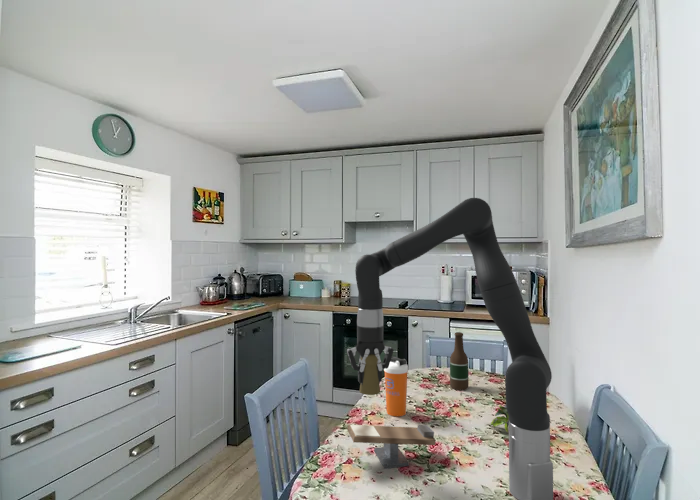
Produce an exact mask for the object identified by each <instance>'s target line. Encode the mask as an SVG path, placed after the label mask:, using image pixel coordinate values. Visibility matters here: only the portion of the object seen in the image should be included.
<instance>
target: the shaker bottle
mask: <svg viewBox="0 0 700 500" xmlns="http://www.w3.org/2000/svg"><path fill="white" fill-rule="evenodd" d="M407 363H408V362H407V359H405V358H399V357H396V356H392V357H391V361H390V364H389V367H388V368H387V369H386V368H385V369H383V371H384V382H385V383H384V385H385V387H384V388H385V402H386V407H385V409H386V414H387V415H388V416H391V417H396V418H397V417H403V416H405V415H406V413H407V397H408V395H407V393H408V392H407V391H408V390H407V389H408V373H409V366H408V364H407Z"/></svg>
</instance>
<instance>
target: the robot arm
mask: <svg viewBox="0 0 700 500" xmlns="http://www.w3.org/2000/svg"><path fill="white" fill-rule="evenodd" d="M492 214H493V213H492V209H491V207H490V205H489V203H488V202H486V201H485V200H484V199H482V198H480V197H479V198H478V197H469V198H467V199H464V200H462V201H461V202H460V203H459V204H457V205H456V206H454V207H453V208H451V209H450V210H448V211H447V212H446V213H445V214H443V215H442V216H441V215H440V217H438V218H436V219H435V220H433V221H431V222H430V223H428V224H426V225H425V226H424V225H423V226H422V227H421V228H418V229H417V230H414V231H412V232H410V233H408V234H406V235H404V236H402V237H400V238H398V239H395V240H394V241H393V242H390V243H388V244H387V245H386V246H385V248H382V249H380V250H378V251H375V252H373V253H371V254H364V255H362V256H360V257H359V258H358V259H357V260H356V264H355V270H354V272H355V281H356V286H357V291H358V295H357V298H358V299H357V316H356V337H357V338H356V343H355V346H354V347H351V348H347V349H346V353H347V356H348V360H349V362H350V366H351V368H352V369H353V370H354V371H357V381H358V382H359V384H360V383H361V385H363V379H364V372H363V371H364V367H365V364H366V363H365V359H366V357H367V356H368V355H369V354H375V356H376V357H377V358H378V362H377V369H378V379H379V385H380V384H381V382H382V380H383V371H384V369H385V368H386V369H387V368H388V367H389V364H390V361H391V357H393V353H394V352H395V351H394V348H392V347H391V346H386V345H385V342H384V311H383V308H384V307H383V301H384V299H383V291H382V289H381V288H380V287H381V286H380V277H382V276H383V275H385V274H387V273H388V272H390V271H392V270H394V269H395V268H397V267H402V266H403V265H405V264H407V263H410V262H412V261H415V260H416V259H418V258H420V257H421V256H424V255H425V254H427V253H428V252H430V251H431V250H432V249H434V248H436V247H437V246H439V245H441V244H442V243H445V242H446V241H448V240H451V239H453V238H455V237H459V236H461V235H463V237H464V238H465V240H466V244H467V245H468V247H469V250H470V253H471V255H472V259H473V264H474V270H475V275H476V279H477V283H478V287H479V288H478V289H479V291H480V294H481V297H482V299H483V302H484V306H485V307H486V309H487V312H488V314H489V316H490V318H491V319H492V320H493V322H494V323H495V325H496V326H497V328H498V329H499V331H500V332H501V334H502V335H503V337H504V339H505V342H506V345H507V347H508V351H509V355H510V358H511V363H510V364H509V365H508V367H507V369H506V372H505V376H504V379H505V381H504V382H505V384H504V385H505V387H504V388H505V404H506V405H505V406H506V408H507V411H508V414H509V426H508V477H509V478H508V481H509V486H508V488H509V489H508V490H509V492H510V494H511V495H512V496H513V497H514V498H516V499H517V500H554V463H553V461H551V445H550V444H551V419H550V418H551V417H550V414H549V412H548V408H547V407H548V405H547V404H548V401H547V400H548V399H547V394H548V393H547V389H548V388H549V386H550V384H551V382H552V377H553V375H552V370H551V367H550V365H549V363H548V360H547V358H546V356H545V353H544V351H543V350H542V348H541V346H540V344H539V341H538V340H537V337H536V335H535V333H534V331H533V327H532V323H531V320H530V317H529V314H528V311H527V308H526V304H525V302H524V299H523V296H522V292H521V290H520V287H519V285H518V282H517V279H516V276H515V273H514V272H513V270H512V268H511V266H510V264H509V263H508V260H507V259H506V257H505V255H504V253H503V252H502V249H501V247H500V244H499V242H498V238H497V235H496V230H495V227H494V222H493V215H492ZM356 352H357V353H358V355H359V359H358V360H359V361H358V364H357V362H356V358H355V356H356ZM383 352H384V356H383V361H382V360H381V355H382V353H383ZM361 357H362V358H363V359H362V360H361Z"/></svg>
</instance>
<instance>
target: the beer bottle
mask: <svg viewBox="0 0 700 500" xmlns="http://www.w3.org/2000/svg"><path fill="white" fill-rule="evenodd" d="M463 337H464V332H461V331H457V332H454V349H453V352H452V353H450V357H449V385H450V386H449V387H450V388H452V390H456V391H466V390H467V389H469V358H468V355H467V353H466V352H465V351H464V350H465V349H464V348H465V347H464V338H463Z"/></svg>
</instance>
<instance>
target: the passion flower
mask: <svg viewBox="0 0 700 500" xmlns="http://www.w3.org/2000/svg"><path fill="white" fill-rule="evenodd" d="M494 416H495V418H493V420H491V422H490V426H491V427H492V426H493V428H496V427H499V426H502V425H504V430H505V431H506V432H507V433H509V414H508V411H507V408H506V403H505V404H504V405H503V406H502V405H501V404H499V405H498V408H497V412H496V413H495V414H494Z"/></svg>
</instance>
